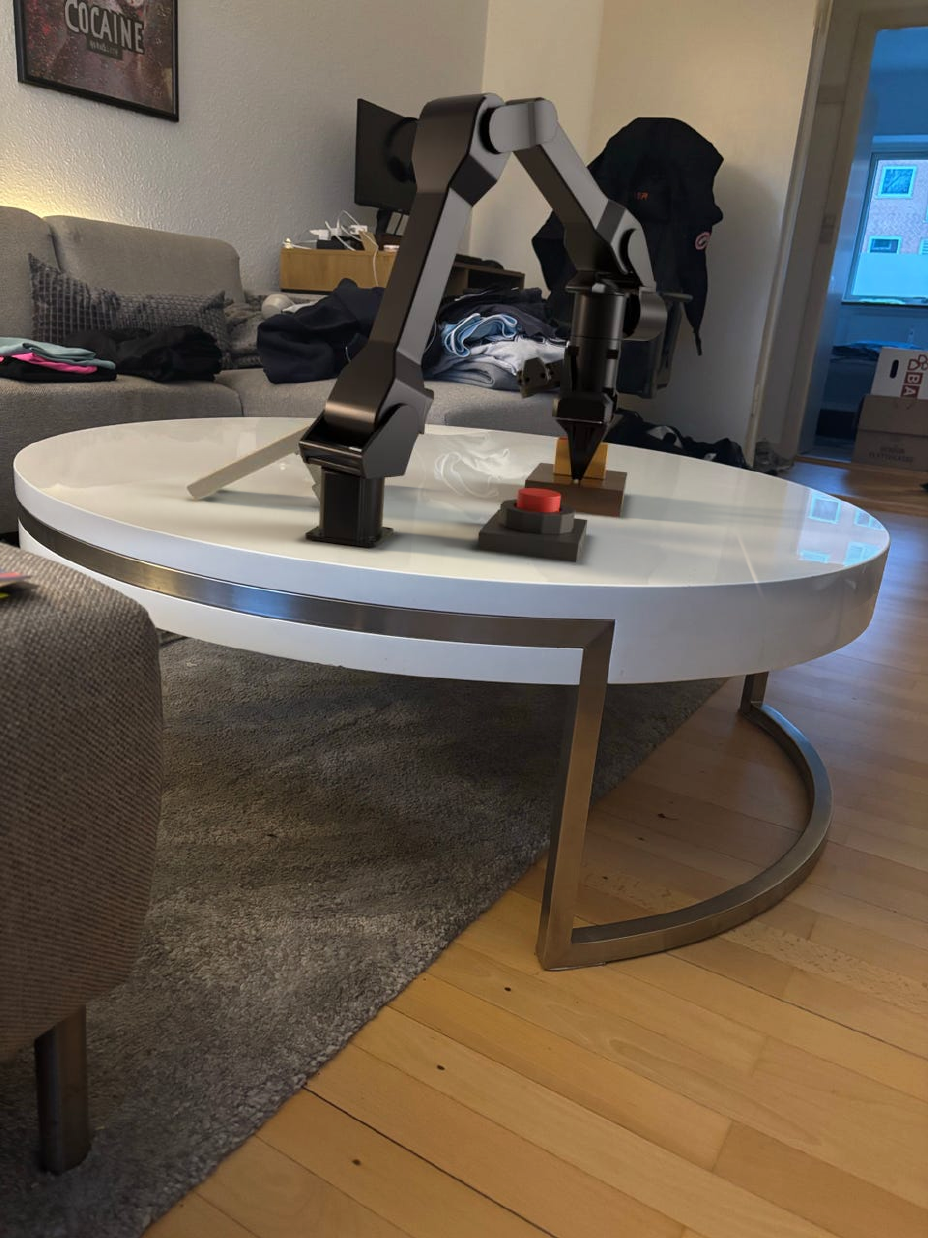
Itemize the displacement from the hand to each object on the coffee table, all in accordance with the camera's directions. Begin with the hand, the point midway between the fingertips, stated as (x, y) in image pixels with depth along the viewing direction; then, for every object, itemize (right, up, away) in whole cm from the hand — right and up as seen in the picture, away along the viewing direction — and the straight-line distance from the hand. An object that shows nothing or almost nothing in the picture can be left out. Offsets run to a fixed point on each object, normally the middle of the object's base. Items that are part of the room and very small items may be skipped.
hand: (579, 475), depth 108 cm
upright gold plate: (0, 0, 0) cm, 0 cm away
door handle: (-33, -3, -8) cm, 34 cm away
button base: (-7, -10, -21) cm, 24 cm away
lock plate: (0, -3, +1) cm, 3 cm away
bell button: (-7, -7, -22) cm, 24 cm away
